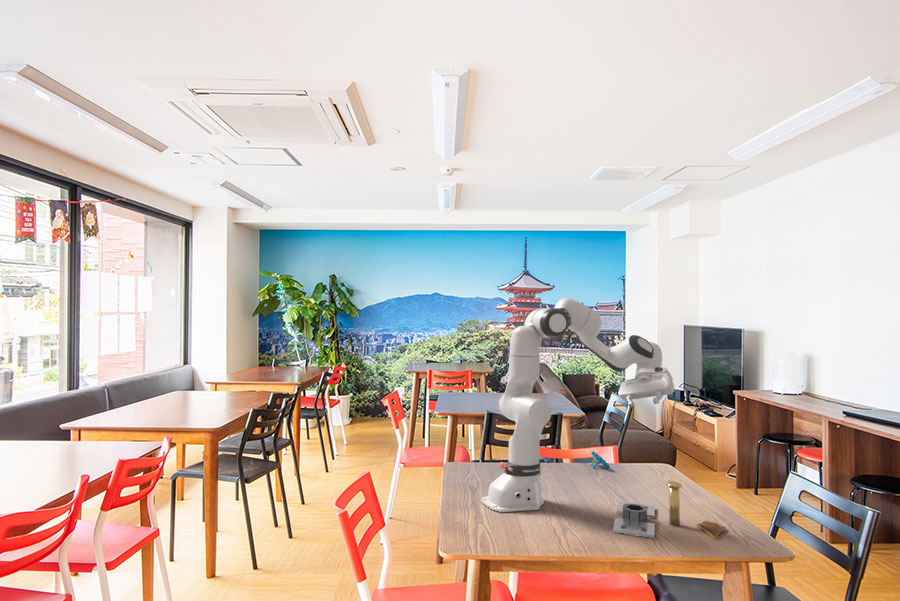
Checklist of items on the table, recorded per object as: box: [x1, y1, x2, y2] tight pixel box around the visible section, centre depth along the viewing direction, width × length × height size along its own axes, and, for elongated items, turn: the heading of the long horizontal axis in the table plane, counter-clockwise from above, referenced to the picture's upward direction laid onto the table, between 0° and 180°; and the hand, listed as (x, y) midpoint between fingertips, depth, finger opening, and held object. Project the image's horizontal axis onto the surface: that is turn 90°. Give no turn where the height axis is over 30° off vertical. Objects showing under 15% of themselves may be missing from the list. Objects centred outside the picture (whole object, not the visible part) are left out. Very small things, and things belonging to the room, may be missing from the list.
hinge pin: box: [666, 481, 683, 527], centre depth 163 cm, size 4×4×13 cm
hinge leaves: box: [612, 501, 656, 539], centre depth 167 cm, size 27×12×4 cm, turn 158°
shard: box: [696, 519, 726, 540], centre depth 158 cm, size 11×8×2 cm
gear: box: [590, 450, 611, 469], centre depth 228 cm, size 11×6×10 cm
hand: (643, 404), depth 185 cm, fingers open, 8 cm apart
